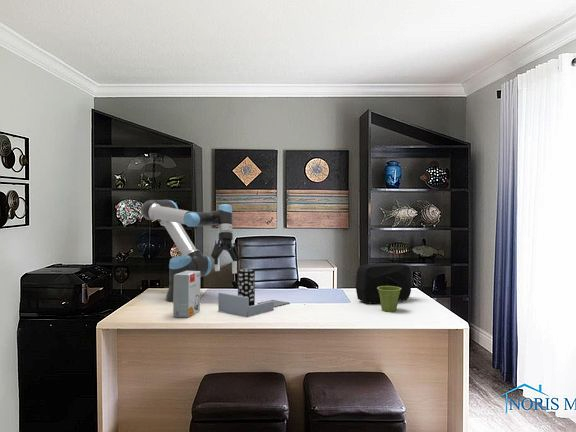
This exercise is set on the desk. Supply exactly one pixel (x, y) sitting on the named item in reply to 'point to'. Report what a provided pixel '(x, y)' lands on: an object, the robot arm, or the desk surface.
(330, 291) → the desk surface
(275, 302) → the mat
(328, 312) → the desk surface
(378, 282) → the black hard case
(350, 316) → the desk surface
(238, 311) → the bay
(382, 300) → the plant pot
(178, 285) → the hard drive box
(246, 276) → the spotted tube
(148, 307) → the desk surface
